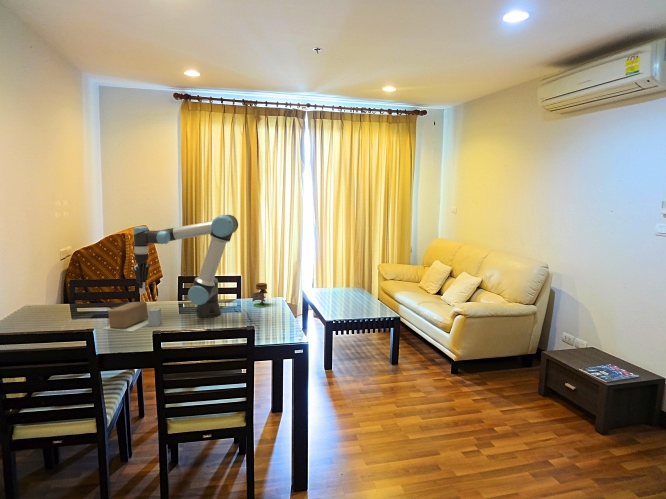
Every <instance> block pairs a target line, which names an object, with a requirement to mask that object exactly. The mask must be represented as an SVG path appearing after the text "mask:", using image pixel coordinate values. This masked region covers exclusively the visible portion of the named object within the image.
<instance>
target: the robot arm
mask: <svg viewBox="0 0 666 499" xmlns="http://www.w3.org/2000/svg"><path fill="white" fill-rule="evenodd" d="M238 228H239V221H238V219H237V218H236V217H235V215H232V214H220V215H218V216H216V217H215V218H214V219H212V220H209V221H204V222H200V223H193V224H188V225H183V226H177V227H171V228H165V229H159V230H149V227H148V226H134V228H133V253H134V258H133V259H134V261H135V266H133V267H132V269H133V271H134V272H133V273H134V275H135V276H134V277H135V282H136V283H138V288H139V292H138V293H139V294H142V295H143V294H146V283H147V282H148V280H149V273H150V272H149V271H150V266H151V264H150V263H148V261H149V256H150V254H149V244H158V245H166V244H169V242H173V241H177V240H178V241H179V240H184V239H188V238H189V239H190V238H195V237H201V236H207V235H210V237H211V238H210V239H211V240H210V242H209V245H208V249H207V250H206V254H205V257H204V260H203V263H202V265H201V269H200V271H199V274H198V276H197V277H195V278H194V281H193V283H192V286H191V287H190V288H189V289H188V292H187V298H188V300H189V301H190V302H191V303H192V304H193V305H196V306H197V307H196V309H195V316H196V317H198V318H205V319H206V318H215V317H219V316H221V315H222V309H221V306H220V303H219V280H218V278H216V274H217V271H218V268H219V265H220V262H221V260H222V257H223V254H224V251H225V248H226V245H227V243H230V242H231V239H232V237H233V234H234V233H235V232H236V231H237V230H238Z"/></svg>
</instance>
